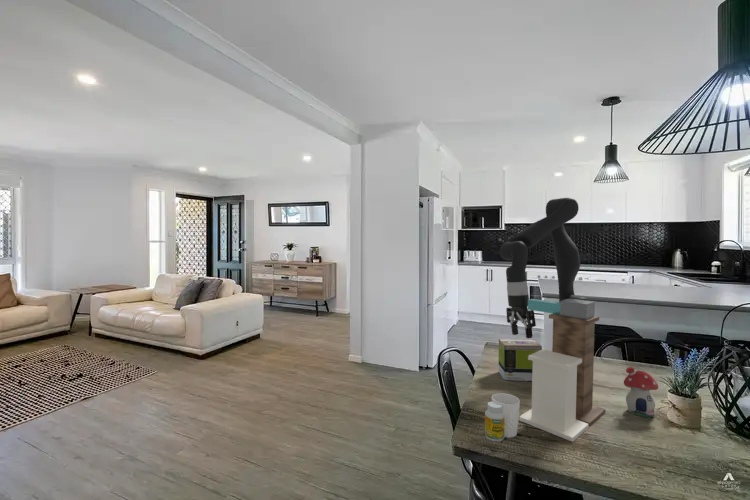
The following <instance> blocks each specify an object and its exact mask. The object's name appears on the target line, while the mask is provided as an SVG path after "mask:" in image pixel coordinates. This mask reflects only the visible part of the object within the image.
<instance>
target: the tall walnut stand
mask: <svg viewBox="0 0 750 500" xmlns="http://www.w3.org/2000/svg"><path fill="white" fill-rule="evenodd" d="M548 319H551V320H552V349H551V350H552V352H556V353H560V354H564V355H568V356H573V357H577V358H581V359H582V363H580V364H579V365H577V387H576V420H579V421H582V422H585V423H588V424H589V427H591V426H592V425H594V424H595V423H596V421H598V420H599V419H600V418H601V417H602V416H604V415H605V414H606V408H604V407H600V406H597V405H594V404H593V397H594V395H593V394H594V391H593V390H594V388H593V387H594V357H595V356H594V355H595V326H596V325H595V324H596V322H599V321H600V316H596V315H594V317H593V318H590V319H587V320H584V319H578V318H572V317H565V316H560V315H559V314H553V313H549V314H548Z"/></svg>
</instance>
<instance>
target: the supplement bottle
mask: <svg viewBox="0 0 750 500" xmlns="http://www.w3.org/2000/svg"><path fill="white" fill-rule="evenodd" d="M486 407H487V409H486V410H485V412H484V436H485V437H486V439H487V440H489V441H493V442H502V441H503V440H504V438H505V437H504V413H503V412H501V411H502V405H500V404H497V403H495V402H492V401H489V402H487V406H486Z"/></svg>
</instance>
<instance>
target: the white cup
mask: <svg viewBox="0 0 750 500" xmlns="http://www.w3.org/2000/svg"><path fill="white" fill-rule="evenodd" d="M491 402H495V403H497V404H500V405H502V411H501V412H503V413H504V438H508V439H509V438H514V437H516V436H517V434H518V426H519V421H520V420H519V416H520V406H521V405H520V404H521V400H520V398H518V397H517V396H515V395H514V394H510V393H506V392H505V393H504V392H498V393H494V394H492V395H491Z"/></svg>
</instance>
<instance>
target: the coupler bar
mask: <svg viewBox="0 0 750 500" xmlns="http://www.w3.org/2000/svg"><path fill="white" fill-rule="evenodd" d="M595 305H596V301H591V300H589V301H585V300H577V299H565V300H561V301H560V302H559V301H550V300H546V299H545V300H544V299H543V300H542V299H537V298H536V299H535V298H531V299H530V298H529V300H528V306H527V309H528V310H533V311H534V312H541V313H549V314H559V315H560V316H565V317H572V318H578V319H584V320H587V319H590V318H593V317H594V316H595V310H596V309H595V308H596V306H595Z"/></svg>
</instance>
